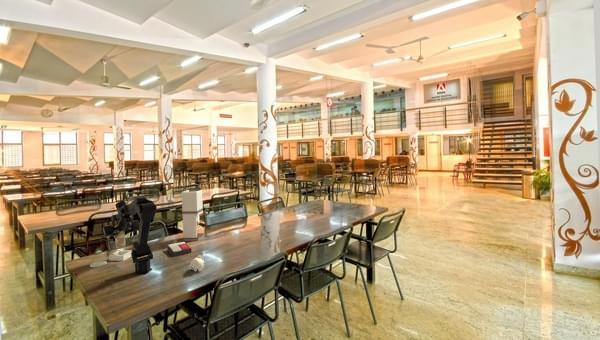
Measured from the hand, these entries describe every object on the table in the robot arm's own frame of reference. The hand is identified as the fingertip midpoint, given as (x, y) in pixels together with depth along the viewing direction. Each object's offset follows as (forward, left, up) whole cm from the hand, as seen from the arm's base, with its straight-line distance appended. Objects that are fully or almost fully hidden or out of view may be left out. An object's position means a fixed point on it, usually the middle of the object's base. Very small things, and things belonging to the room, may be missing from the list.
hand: (119, 236), depth 180 cm
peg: (-1, +1, -7) cm, 7 cm away
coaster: (+5, +12, -13) cm, 18 cm away
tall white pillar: (-29, -39, -13) cm, 51 cm away
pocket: (-1, +1, -13) cm, 13 cm away
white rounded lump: (-55, +18, -13) cm, 59 cm away
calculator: (-32, -11, -14) cm, 36 cm away
